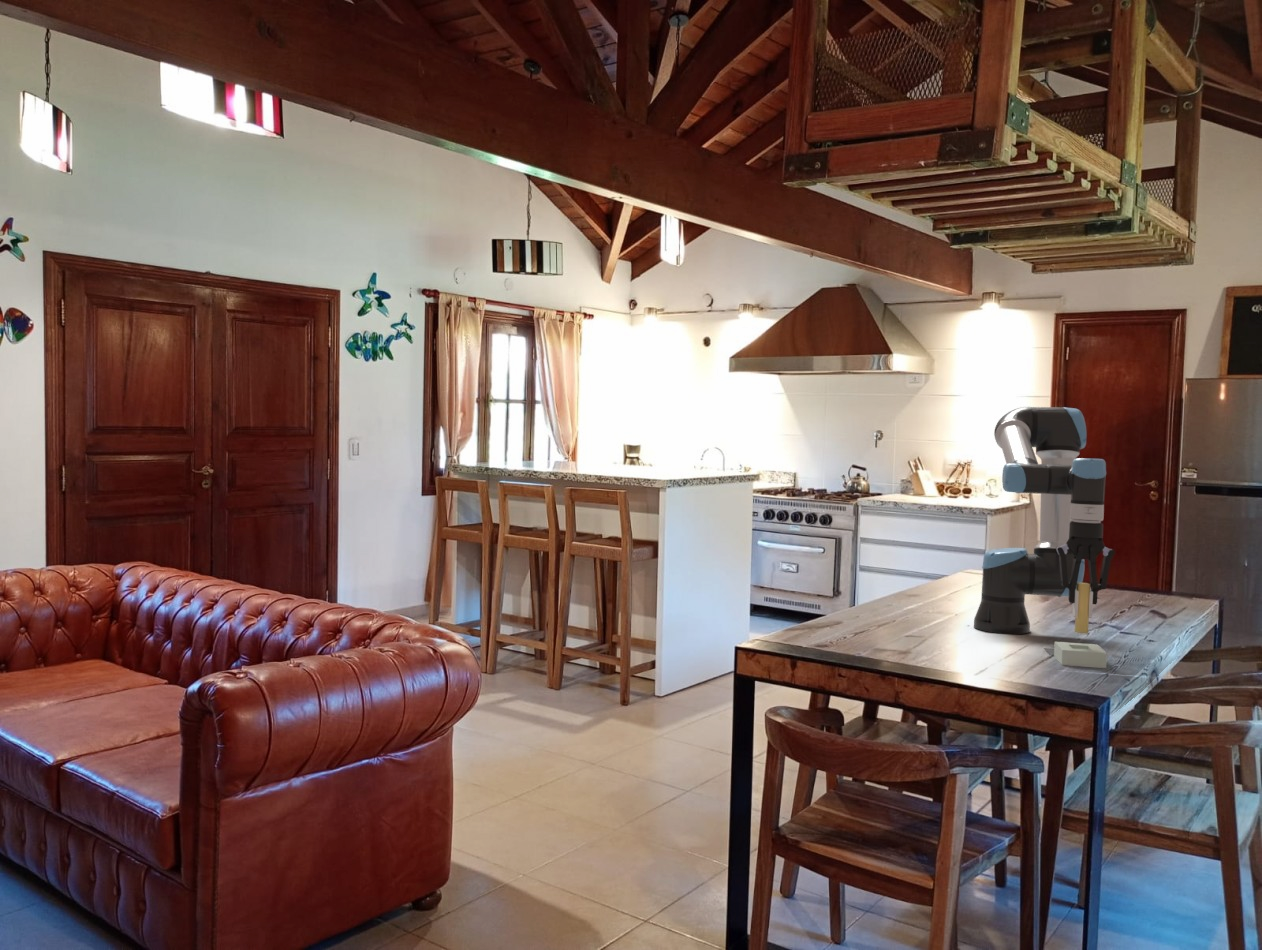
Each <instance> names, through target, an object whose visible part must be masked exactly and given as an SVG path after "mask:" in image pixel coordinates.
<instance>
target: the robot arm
mask: <svg viewBox="0 0 1262 950" xmlns="http://www.w3.org/2000/svg"><path fill="white" fill-rule="evenodd" d="M1085 420H1086V419H1085V416H1084V415H1083V412H1082V411H1081V410H1080V409H1078V408H1076V407H1075V408H1073V407H1065V406H1062V407H1061V406H1060V407H1059V406H1057V407H1056V406H1051V407H1049V406H1047V407H1046V406H1044V407H1043V406H1022V407H1021V406H1020V407H1017V408H1015V409H1013V410H1010V411H1008V412H1006V413H1005V414H1004V415H1003V416H1002V417H1001V418H1000V419H998V422H997V423H996V425H995V427H994V433H993V435H994V439H995V443H996V444H997V446H998V447H999V448H1000V449H1002V453H1003V457H1004V460H1005V465H1004V466H1003V468H1002V477H1001V478H1002V480H1001V481H1002V489H1003V491H1005V492H1009V493H1016V494H1040V508H1039V509H1040V513H1039V514H1040V518H1039V519H1040V521H1039V542H1038V544H1036V545H1035V546H1034V547H1033V553H1028V550H1027V548H1025V547H1003V548H994V549H990V550H987V551H986V552H985V553H984V555H983V561H982V566H981V568H982V578H981V579H982V582H981V598H980V599H981V600H980V603H979V605H978V608H977V611H976V613H975V616H974V619H973V628H975V629H977V630H980V631H983V632H987V633H995V634H1005V635H1022V634H1028V633H1030V629H1031V623H1030V619H1029V615H1028V613H1027V610H1026V605H1025V598H1026V595H1029V596H1030V595H1031V596H1032V595H1033V596H1044V597H1045V596H1046V597H1047V596H1048V597H1049V596H1050V597H1058V598H1061V597H1065V598H1066V597H1068V602H1069V603H1070V604H1072V610H1071V611H1072V612H1071V615H1072V617H1074V618H1075V617H1078V602H1079V591H1077V583H1083V582H1084V577H1085V568H1086V567H1085V566H1086V565H1085V562H1086V561H1085V559H1086V560H1087V564H1088V571H1089V572H1088V573H1089V584H1090V591H1089V612H1088V618H1089V619H1093V605H1097V604H1098V592H1099V591H1102V590H1105V589H1107V585H1108V579H1109V573H1110V567H1111V562H1112V559H1113V557H1114V556H1115V554H1116V551H1115V550H1114V549H1112V548H1108V547H1106V546H1105V543H1104V540H1103V538H1104V523H1102V522H1103V521H1104V516H1105V514H1104V513H1105V496H1106V495H1105V494H1106V475H1108V474H1107V473H1108V472H1107V463H1106V461H1105V459H1103V458H1083V457H1081V458H1080V457H1079V458H1078V456H1079V455H1080V452H1081V451H1080V450H1082V449H1084V448H1085V447H1086V445H1087V435H1088V434H1087V433H1088V432H1087V425H1086V421H1085ZM1034 448H1035V452H1034ZM1036 455H1037V457H1038V458H1039V459H1040V462H1041V463H1039V462H1038V460H1037V457H1036ZM1101 553H1102V555H1103V558H1102V565H1101V569H1100V570H1101V571H1100V576H1099V581H1098V573H1097V572H1098V571H1097V557H1098V556H1099V555H1100V554H1101ZM1098 582H1099V583H1098Z"/></svg>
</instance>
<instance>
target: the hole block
mask: <svg viewBox="0 0 1262 950" xmlns="http://www.w3.org/2000/svg"><path fill="white" fill-rule="evenodd" d="M1053 649H1054V655H1053V657H1054V658H1055V659H1056V660H1057V661H1058V662H1059V664H1060V665H1061V666H1070V667H1083V668H1084V667H1087V668H1096V669H1097V668H1099V669H1107V659H1108V652H1106V651H1105V650H1104V649H1103V648H1102V647H1101V646H1100V645H1098V644H1097V643H1095V644H1094V643H1081V642H1067V641H1054V648H1053Z"/></svg>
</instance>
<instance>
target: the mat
mask: <svg viewBox="0 0 1262 950" xmlns="http://www.w3.org/2000/svg"><path fill="white" fill-rule="evenodd" d="M1043 649H1044V651H1045V652H1046V653H1047V654H1048V655H1049V656H1050V655H1051V656H1054V648H1052V647H1051V648H1047V647H1043Z"/></svg>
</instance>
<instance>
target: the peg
mask: <svg viewBox="0 0 1262 950" xmlns="http://www.w3.org/2000/svg"><path fill="white" fill-rule="evenodd" d="M1090 590H1091V586H1090V582H1089V583H1088V582H1082V583H1077V591H1079V602H1078V617H1074V618H1075V619H1074V623H1075V624H1074V632H1075V633H1077V634H1089V624H1090V623H1089V621H1090V618H1088V612H1089V591H1090Z"/></svg>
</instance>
